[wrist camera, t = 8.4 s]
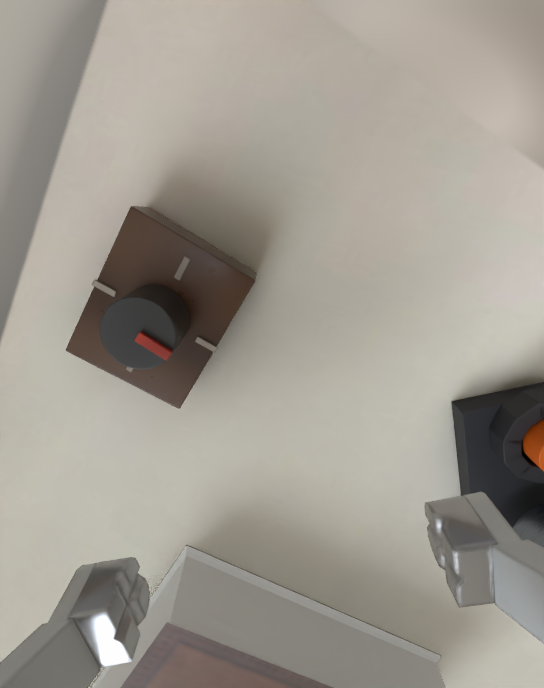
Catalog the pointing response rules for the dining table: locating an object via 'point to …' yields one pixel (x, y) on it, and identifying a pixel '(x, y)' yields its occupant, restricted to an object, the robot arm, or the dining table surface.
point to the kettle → (531, 525)
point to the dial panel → (177, 274)
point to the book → (259, 638)
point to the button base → (500, 448)
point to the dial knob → (144, 326)
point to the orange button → (535, 444)
